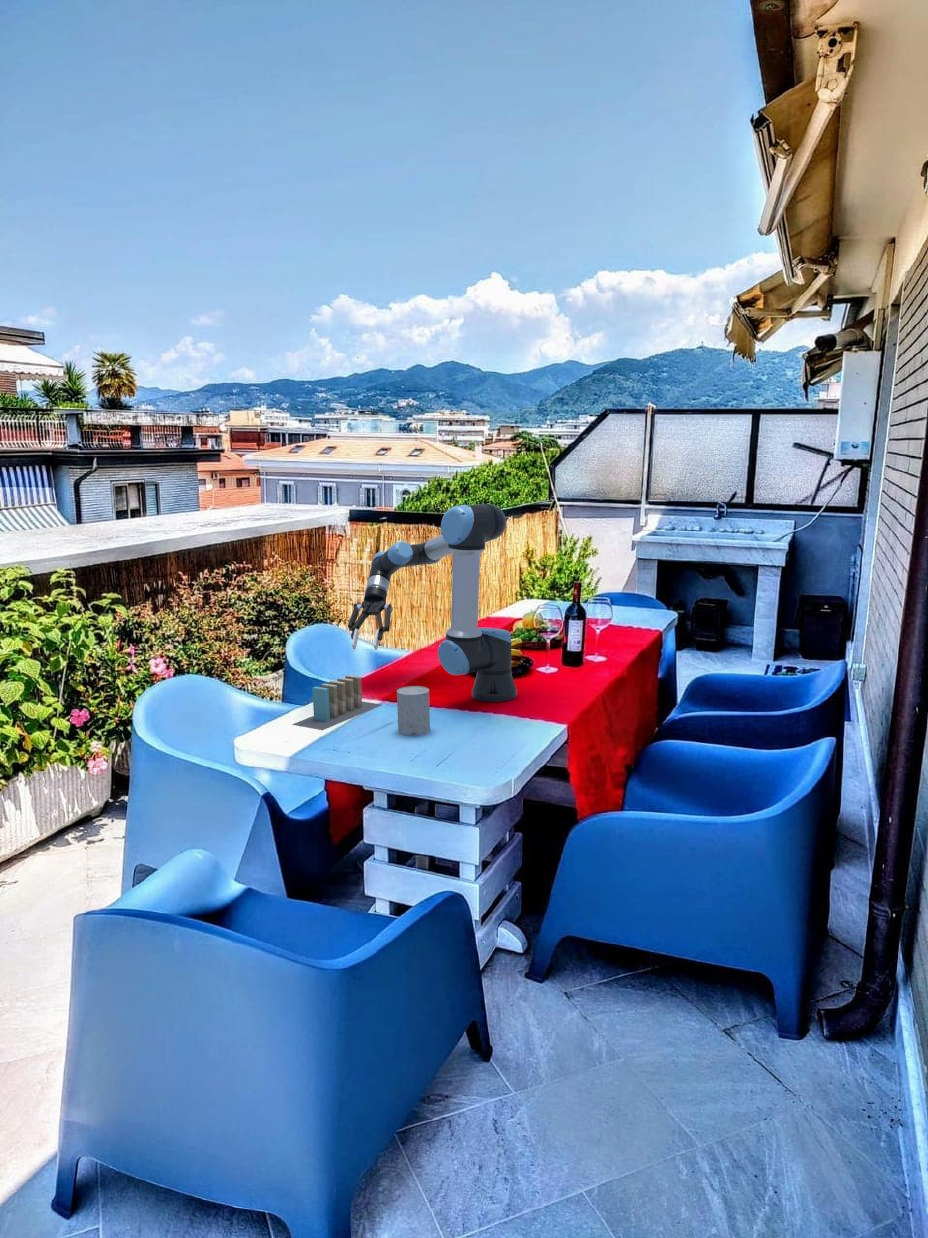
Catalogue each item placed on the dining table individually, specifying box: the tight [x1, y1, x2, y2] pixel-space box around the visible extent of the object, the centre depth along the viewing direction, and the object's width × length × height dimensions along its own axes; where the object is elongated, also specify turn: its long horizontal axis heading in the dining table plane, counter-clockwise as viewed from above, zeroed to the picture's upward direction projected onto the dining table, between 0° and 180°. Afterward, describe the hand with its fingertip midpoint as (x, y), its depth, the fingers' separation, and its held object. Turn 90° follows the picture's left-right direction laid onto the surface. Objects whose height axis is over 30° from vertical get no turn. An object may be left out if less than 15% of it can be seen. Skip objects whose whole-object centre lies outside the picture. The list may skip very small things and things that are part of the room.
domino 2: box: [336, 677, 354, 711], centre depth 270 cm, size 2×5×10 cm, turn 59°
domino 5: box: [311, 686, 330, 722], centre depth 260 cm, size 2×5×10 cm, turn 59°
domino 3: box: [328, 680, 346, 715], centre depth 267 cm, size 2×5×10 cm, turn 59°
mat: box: [291, 700, 383, 731], centre depth 266 cm, size 30×12×1 cm, turn 149°
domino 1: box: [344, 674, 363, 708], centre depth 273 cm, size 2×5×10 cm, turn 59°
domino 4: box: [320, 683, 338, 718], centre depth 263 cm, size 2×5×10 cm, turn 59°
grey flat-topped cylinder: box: [396, 685, 431, 737], centre depth 251 cm, size 10×10×12 cm
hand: (364, 647), depth 284 cm, fingers open, 7 cm apart
